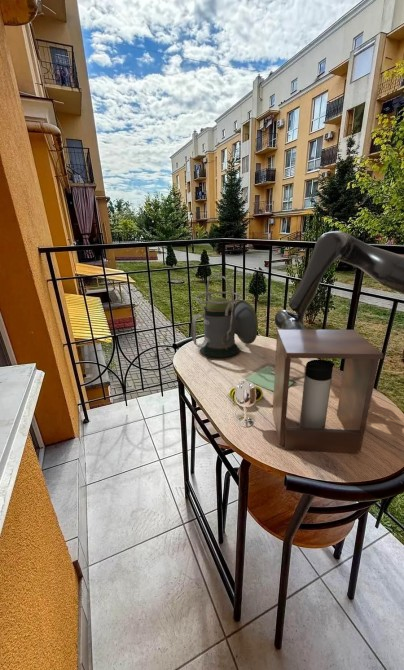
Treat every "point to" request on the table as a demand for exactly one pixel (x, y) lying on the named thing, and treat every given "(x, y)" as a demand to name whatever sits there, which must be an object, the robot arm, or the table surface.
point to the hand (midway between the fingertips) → (307, 355)
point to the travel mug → (316, 393)
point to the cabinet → (352, 394)
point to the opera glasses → (258, 394)
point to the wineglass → (245, 400)
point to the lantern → (225, 324)
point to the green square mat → (265, 378)
